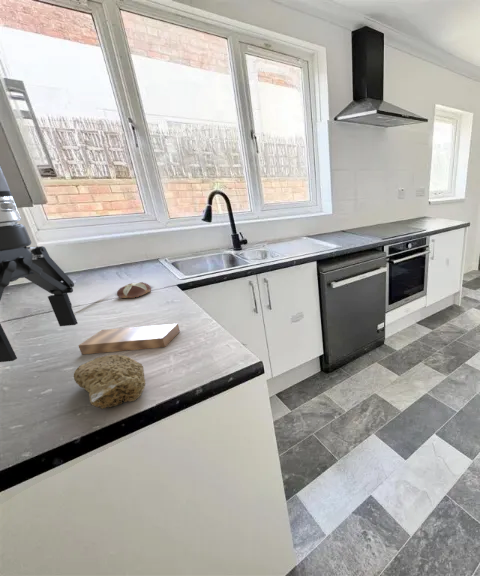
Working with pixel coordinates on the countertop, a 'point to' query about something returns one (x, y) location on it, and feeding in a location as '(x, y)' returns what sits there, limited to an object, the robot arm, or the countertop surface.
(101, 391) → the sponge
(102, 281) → the countertop surface
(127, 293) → the bread
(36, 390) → the countertop surface
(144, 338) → the wooden board
